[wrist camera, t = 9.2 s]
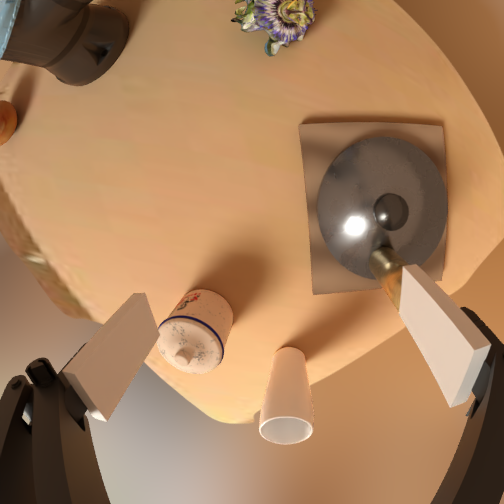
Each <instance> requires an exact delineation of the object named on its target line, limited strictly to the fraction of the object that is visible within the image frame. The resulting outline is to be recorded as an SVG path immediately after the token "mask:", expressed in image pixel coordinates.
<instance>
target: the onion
mask: <svg viewBox="0 0 504 504" xmlns="http://www.w3.org/2000/svg"><path fill="white" fill-rule="evenodd" d="M16 126H17V114H16V111H15V108H14V106H13V105H12V104H11V103H10V102H7V101H0V146H1V145H3V144H4V143H6V142H7V141H8V140H9V139H10V137H11V136H12V135H13V133H14V131H15V128H16Z"/></svg>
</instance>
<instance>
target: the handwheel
mask: <svg viewBox="0 0 504 504" xmlns="http://www.w3.org/2000/svg"><path fill="white" fill-rule="evenodd" d="M447 214H448V200H447V193H446V189H445V185H444V182H443V179H442V177H441V175H440V173H439V171H438V169H437V167H436V166H435V164H434V163H433V162H432V160H431V159H430V158H429V157H428V156H427V155H426V154H425V153H424V152H423V151H422V150H420V149H419V148H418V147H416V146H415V145H413V144H411V143H409V142H407V141H404V140H402V139H398V138H394V137H374V138H369V139H365V140H362V141H360V142H357V143H355V144H353V145H351V146H349V147H348V148H346V149H345V150H344V151H342V152H341V153H340V154H339V155H338V156H337V157H336V158H335V159H334V160H333V161H332V163H331V164H330V166H329V167H328V169H327V170H326V172H325V174H324V176H323V179H322V181H321V184H320V187H319V191H318V197H317V219H318V225H319V228H320V232H321V234H322V237H323V239H324V242H325V244H326V245H327V247H328V249H329V251H330V252H331V254H332V255H333V256H334V257H335V259H336V260H337V261H338V262H339V263H340V264H341V265H342V266H344V267H345V268H346V269H348V270H349V271H351V272H353V273H354V274H356V275H359V276H361V277H364V278H368V279H373V280H377V281H378V282H379V283H380V285H381V286H382V288H383V289H384V291H385V292H386V294H387V295H388V297H389V298H390V300H391V301H392V303H393V304H394V306H395V307H396V309H397V310H398V312H399V308H400V299H401V287H402V273H403V266H407V265H414V264H417V265H418V266H419V267H420V266H421V265H422V264H423V263H424V262H425V261H426V260H427V259H428V258H429V257H430V256H431V255H432V253H433V252H434V251H435V249H436V248H437V246H438V244H439V242H440V240H441V238H442V236H443V233H444V230H445V226H446V221H447Z"/></svg>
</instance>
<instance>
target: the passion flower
mask: <svg viewBox="0 0 504 504" xmlns="http://www.w3.org/2000/svg"><path fill="white" fill-rule="evenodd" d="M242 1H246V2H247V9H246V12H245V14H244V15H243V14H242V11H244V9H245V8H246V6H244V7H241V8H238V9H237V10H236V11H235V14H236V15H237V17H236V18H233V19H232V20H231V21H232V22H238V23H240V24H241V26H242V28H241V30H242V31H244V32H253V31H258V30H265V31H266V32H267V33H268V34H269V40H268V42H267V43H266V44H265V52H266V54H267V55H268V56H275V55H276V53H277V51H278V50H279V48H280V45H283V46H285V47H288V46H289V42H291V41H295V40H298V41H302V40H303V37H304V35H305V32H306V30H307V29H308V28H309V27H308V26H307V25H308V24H312V23H313V22H314V20H315V18H314V17H315V16H314V15H316V14H314V11H317V10H314V9H315V8H313V3H314V2H313V0H252V1H251V0H236V2H235V4H237V3H240V2H242ZM250 1H251V3H250ZM240 18H244V19H242V20H239V19H240Z"/></svg>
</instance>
